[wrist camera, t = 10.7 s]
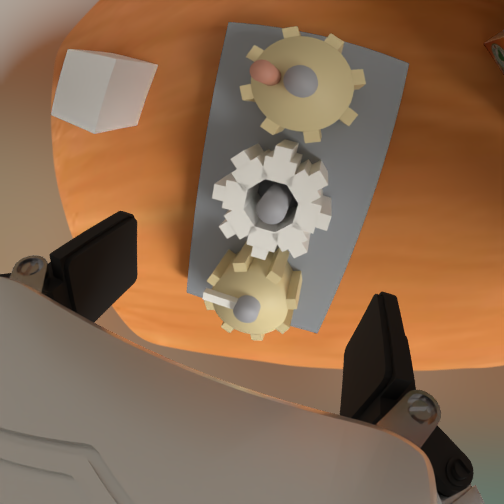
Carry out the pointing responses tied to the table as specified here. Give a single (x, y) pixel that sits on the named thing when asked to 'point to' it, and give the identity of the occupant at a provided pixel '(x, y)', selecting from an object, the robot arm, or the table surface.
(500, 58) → the milk carton
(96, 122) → the white cube
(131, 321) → the table surface
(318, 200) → the idler gear
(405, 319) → the table surface
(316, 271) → the gear board
